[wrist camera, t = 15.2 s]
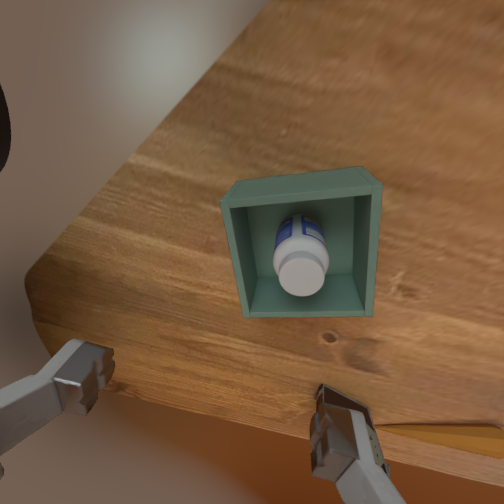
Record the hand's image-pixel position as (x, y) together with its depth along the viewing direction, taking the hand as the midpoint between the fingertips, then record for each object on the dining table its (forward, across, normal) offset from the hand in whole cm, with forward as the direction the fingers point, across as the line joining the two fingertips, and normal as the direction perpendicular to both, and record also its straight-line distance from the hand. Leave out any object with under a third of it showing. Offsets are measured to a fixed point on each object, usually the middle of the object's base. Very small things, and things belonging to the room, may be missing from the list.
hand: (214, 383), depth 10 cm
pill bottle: (+23, -5, +3) cm, 24 cm away
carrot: (+23, -36, +31) cm, 53 cm away
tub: (+24, -5, +3) cm, 24 cm away
